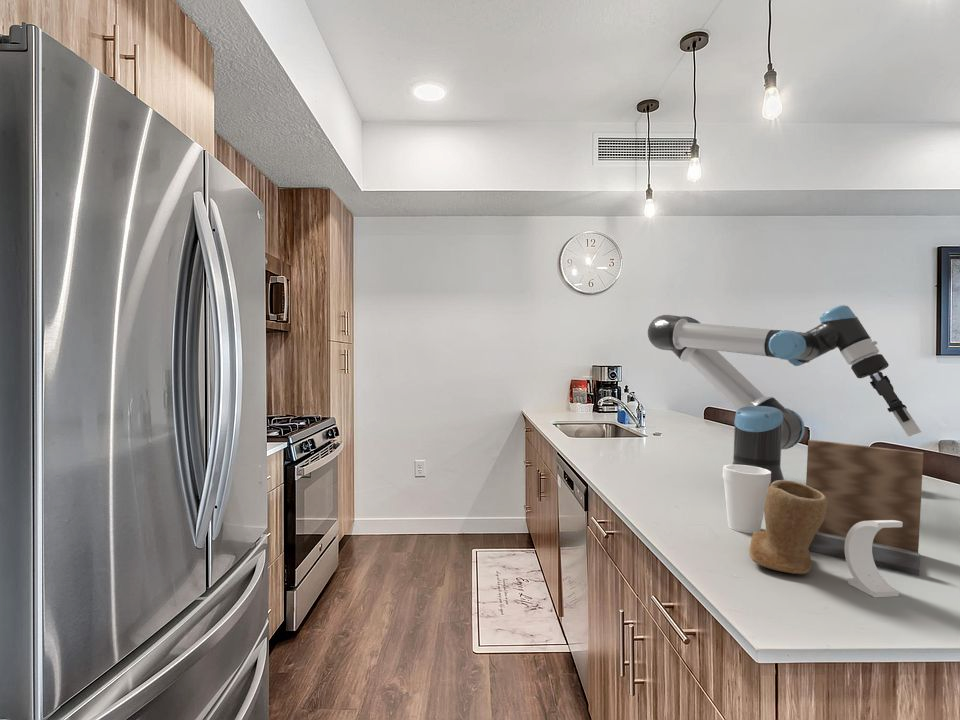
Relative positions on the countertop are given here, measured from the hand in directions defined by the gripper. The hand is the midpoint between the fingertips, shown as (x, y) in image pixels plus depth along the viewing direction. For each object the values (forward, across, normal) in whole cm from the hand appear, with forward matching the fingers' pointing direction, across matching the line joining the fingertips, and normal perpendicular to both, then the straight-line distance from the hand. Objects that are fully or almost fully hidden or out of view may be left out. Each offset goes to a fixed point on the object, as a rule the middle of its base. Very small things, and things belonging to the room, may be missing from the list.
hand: (914, 434), depth 131 cm
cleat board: (+16, -40, +20) cm, 47 cm away
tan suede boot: (+13, -57, +29) cm, 65 cm away
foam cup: (+7, -41, +37) cm, 56 cm away
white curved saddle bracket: (+20, -59, +18) cm, 65 cm away
